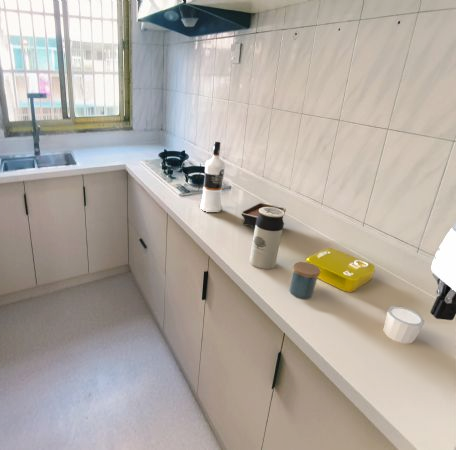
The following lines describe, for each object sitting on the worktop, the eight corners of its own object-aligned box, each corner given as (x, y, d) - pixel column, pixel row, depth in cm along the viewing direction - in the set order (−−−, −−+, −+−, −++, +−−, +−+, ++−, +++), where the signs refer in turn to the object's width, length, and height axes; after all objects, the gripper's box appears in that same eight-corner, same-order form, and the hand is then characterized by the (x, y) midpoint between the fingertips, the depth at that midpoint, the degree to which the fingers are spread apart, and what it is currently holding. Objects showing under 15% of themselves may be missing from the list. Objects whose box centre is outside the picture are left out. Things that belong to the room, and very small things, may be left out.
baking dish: (234, 230, 136) (236, 208, 131) (259, 213, 146) (262, 193, 141) (265, 245, 127) (269, 223, 122) (290, 226, 137) (294, 205, 132)
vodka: (210, 204, 157) (217, 139, 145) (225, 211, 150) (233, 142, 138) (195, 208, 152) (201, 140, 140) (210, 215, 145) (217, 144, 133)
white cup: (374, 338, 78) (383, 313, 75) (384, 325, 82) (393, 302, 80) (409, 355, 73) (420, 330, 71) (417, 341, 78) (428, 316, 75)
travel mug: (264, 255, 113) (273, 205, 106) (280, 267, 107) (291, 214, 99) (244, 259, 110) (252, 208, 103) (260, 271, 104) (270, 217, 96)
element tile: (326, 257, 113) (329, 245, 111) (373, 278, 102) (378, 264, 100) (301, 270, 105) (304, 257, 103) (349, 294, 94) (354, 279, 92)
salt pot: (309, 287, 97) (315, 262, 94) (316, 301, 91) (323, 275, 88) (285, 285, 97) (291, 260, 94) (291, 298, 91) (297, 273, 88)
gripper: (548, 252, 50) (493, 347, 58) (473, 215, 64) (436, 296, 71) (493, 247, 51) (446, 342, 58) (431, 212, 64) (399, 292, 72)
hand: (441, 316), depth 65 cm, fingers closed
